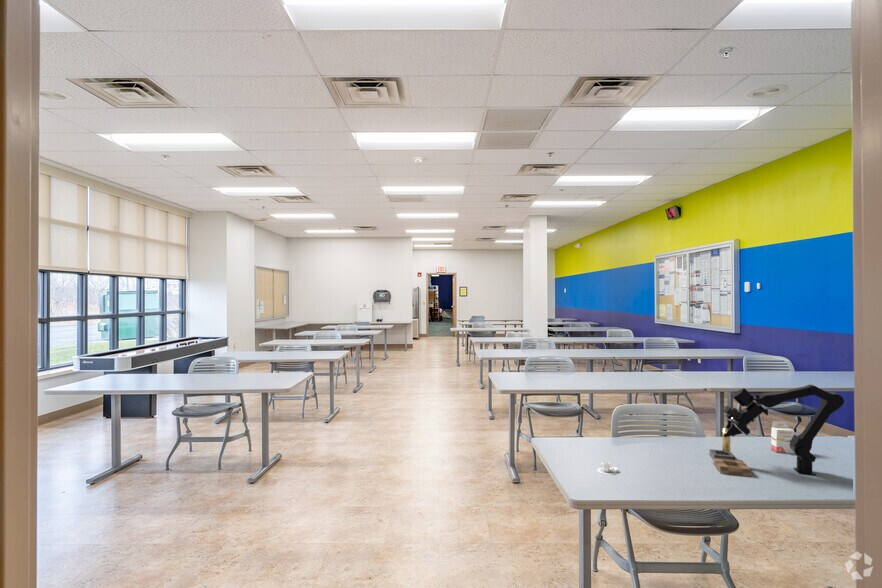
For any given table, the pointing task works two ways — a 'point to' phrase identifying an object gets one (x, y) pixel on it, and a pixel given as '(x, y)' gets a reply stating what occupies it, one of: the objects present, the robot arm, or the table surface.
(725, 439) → the brass cylinder
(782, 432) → the ink cartridge box
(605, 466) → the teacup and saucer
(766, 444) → the table surface
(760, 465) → the table surface
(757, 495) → the table surface
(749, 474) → the wooden square frame
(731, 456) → the socket block
